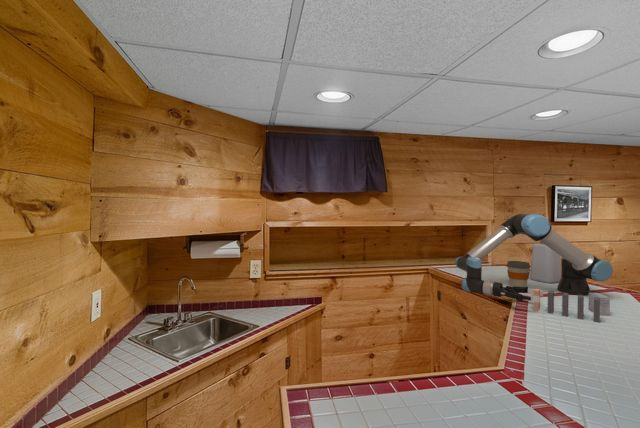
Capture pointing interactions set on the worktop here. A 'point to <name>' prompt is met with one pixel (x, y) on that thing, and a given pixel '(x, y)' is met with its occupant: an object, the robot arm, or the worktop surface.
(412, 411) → the worktop surface
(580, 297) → the domino
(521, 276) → the reusable coffee cup
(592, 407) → the worktop surface
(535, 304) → the terracotta domino
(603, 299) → the medicine box
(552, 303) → the domino
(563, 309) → the domino
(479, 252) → the robot arm
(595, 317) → the domino
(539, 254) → the plastic bottle
